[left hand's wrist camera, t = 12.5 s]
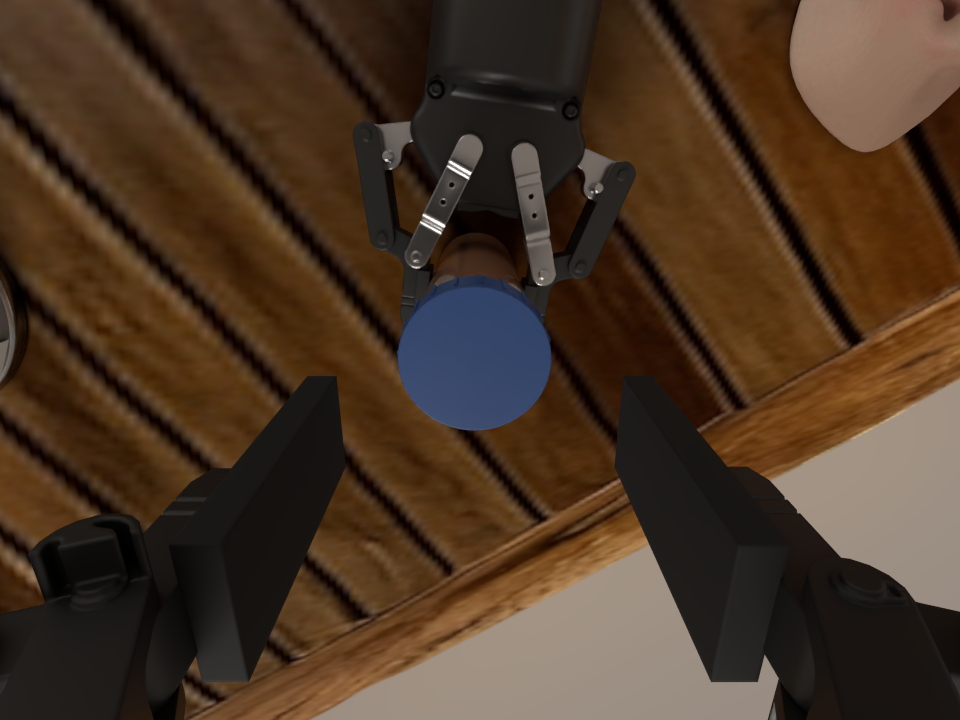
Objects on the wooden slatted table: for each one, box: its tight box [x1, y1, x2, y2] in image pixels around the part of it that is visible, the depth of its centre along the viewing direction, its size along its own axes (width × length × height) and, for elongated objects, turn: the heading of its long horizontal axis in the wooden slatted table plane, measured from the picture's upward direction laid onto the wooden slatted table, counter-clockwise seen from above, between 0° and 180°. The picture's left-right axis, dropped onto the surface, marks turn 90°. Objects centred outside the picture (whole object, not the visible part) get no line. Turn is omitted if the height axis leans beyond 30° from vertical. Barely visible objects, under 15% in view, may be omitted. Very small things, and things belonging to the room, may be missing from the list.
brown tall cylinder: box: [425, 233, 526, 296], centre depth 27 cm, size 5×5×16 cm
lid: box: [397, 274, 552, 430], centre depth 19 cm, size 6×6×2 cm
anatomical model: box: [790, 0, 960, 152], centre depth 27 cm, size 13×4×12 cm
